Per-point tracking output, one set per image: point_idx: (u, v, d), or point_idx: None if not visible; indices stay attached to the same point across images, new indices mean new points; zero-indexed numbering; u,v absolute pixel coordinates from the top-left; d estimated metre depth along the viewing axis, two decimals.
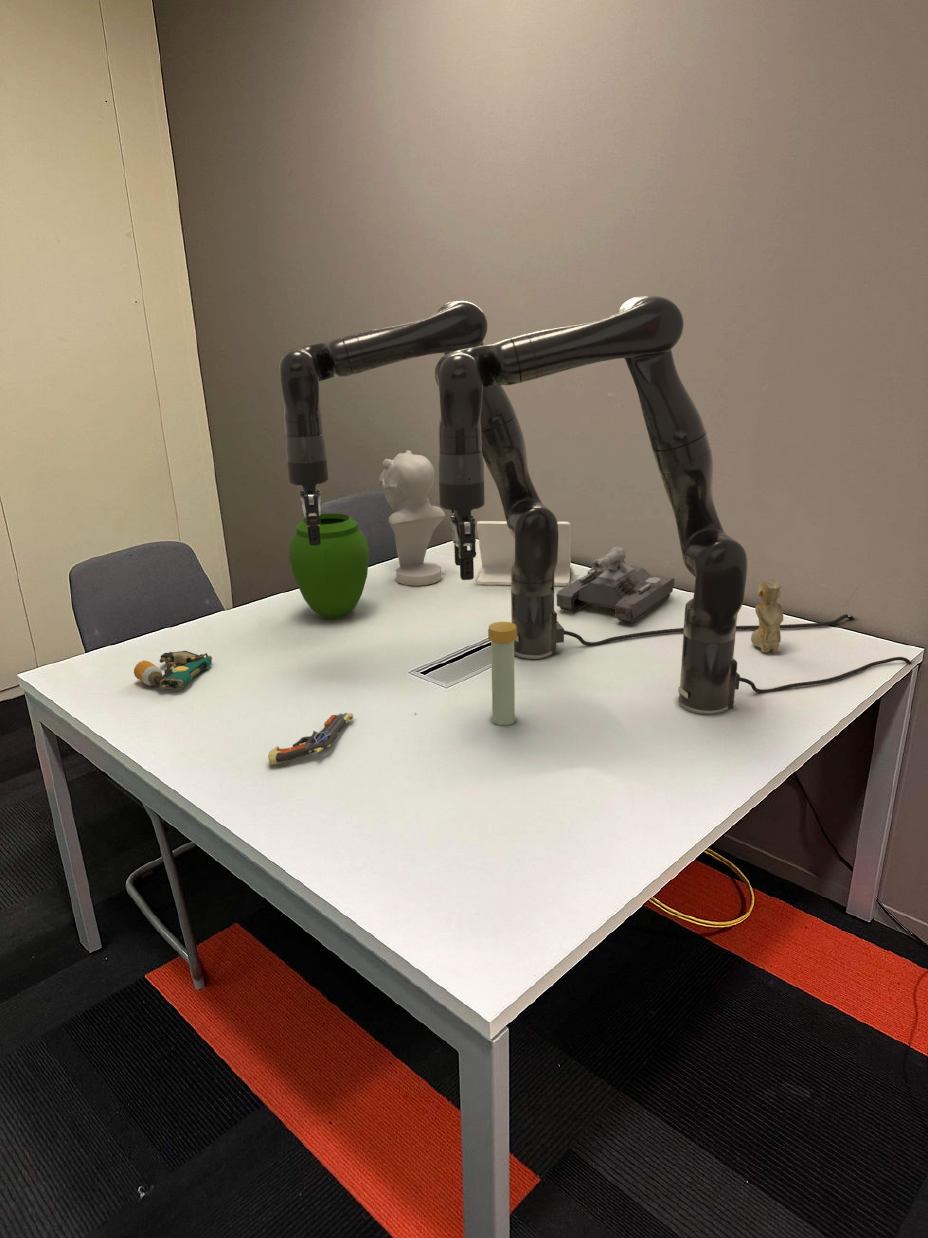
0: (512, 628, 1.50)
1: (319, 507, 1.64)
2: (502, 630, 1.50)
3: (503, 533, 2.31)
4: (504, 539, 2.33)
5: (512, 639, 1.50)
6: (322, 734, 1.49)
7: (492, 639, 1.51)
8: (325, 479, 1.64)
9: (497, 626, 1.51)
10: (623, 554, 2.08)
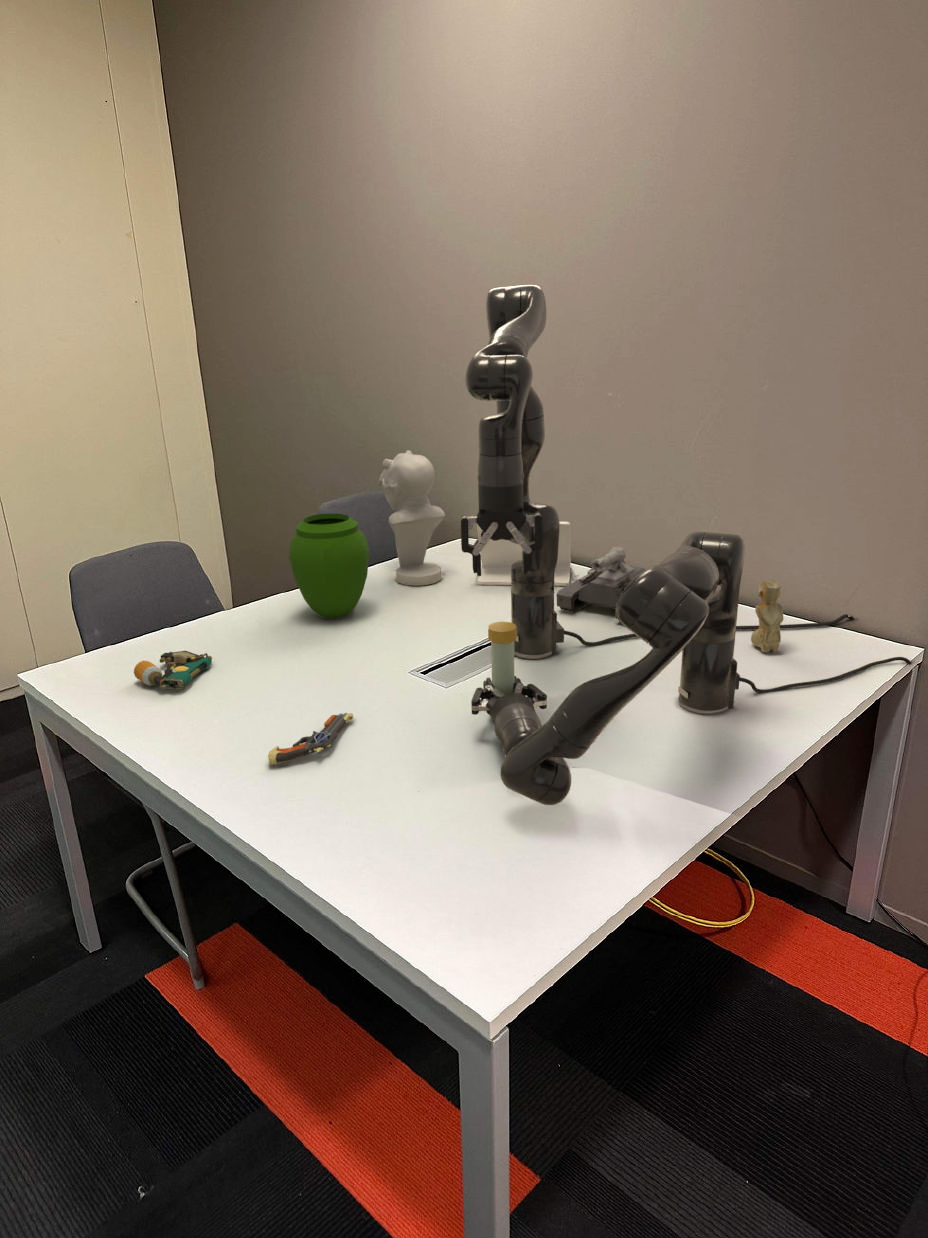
0: (512, 628, 1.50)
1: (519, 530, 1.47)
2: (502, 630, 1.50)
3: None
4: None
5: (512, 639, 1.50)
6: (322, 734, 1.49)
7: (492, 639, 1.51)
8: None
9: (497, 626, 1.51)
10: (623, 554, 2.08)
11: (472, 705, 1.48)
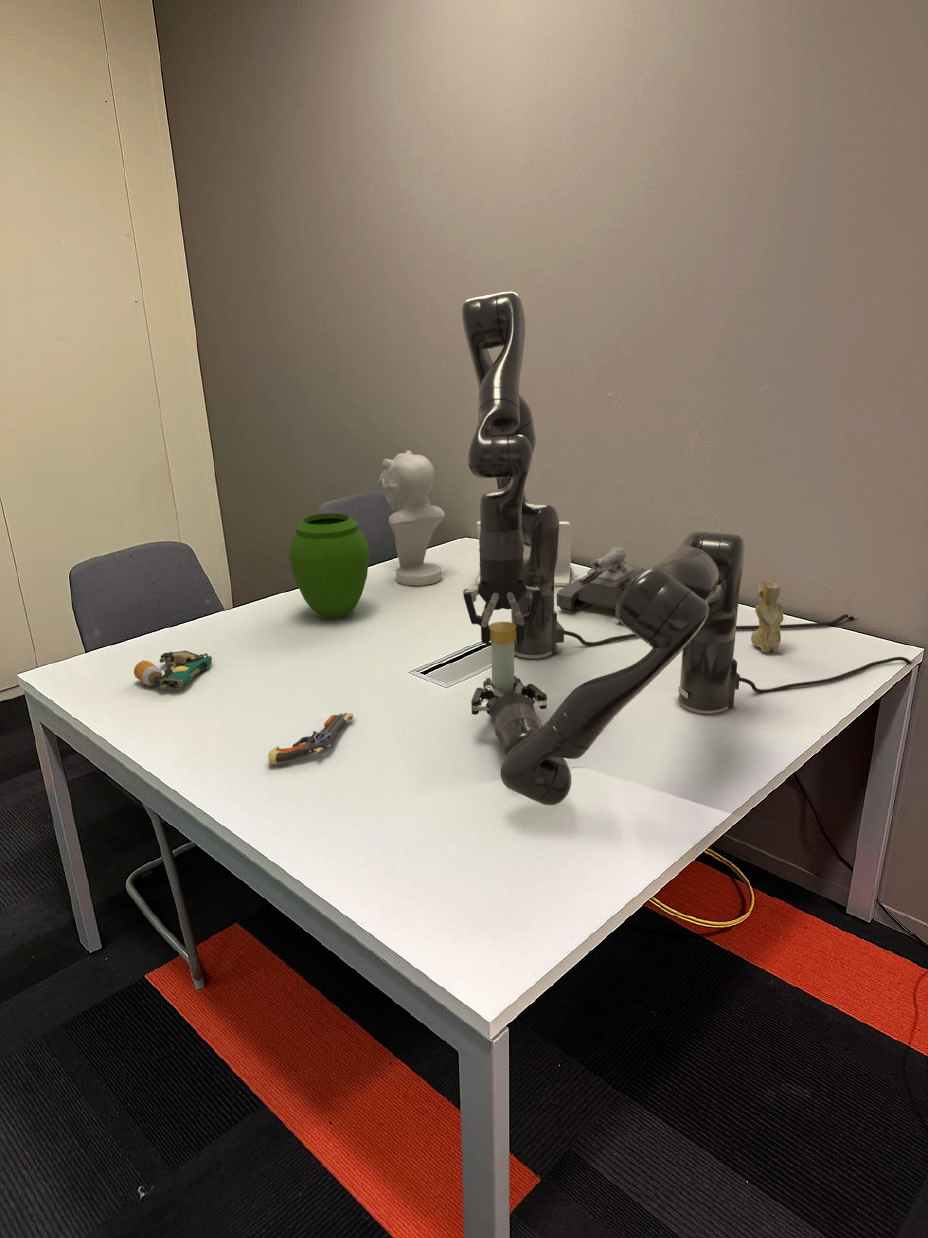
0: (512, 628, 1.50)
1: None
2: (502, 630, 1.50)
3: None
4: None
5: (512, 639, 1.50)
6: (322, 734, 1.49)
7: (492, 639, 1.51)
8: None
9: (497, 626, 1.51)
10: (623, 554, 2.08)
11: (472, 705, 1.48)
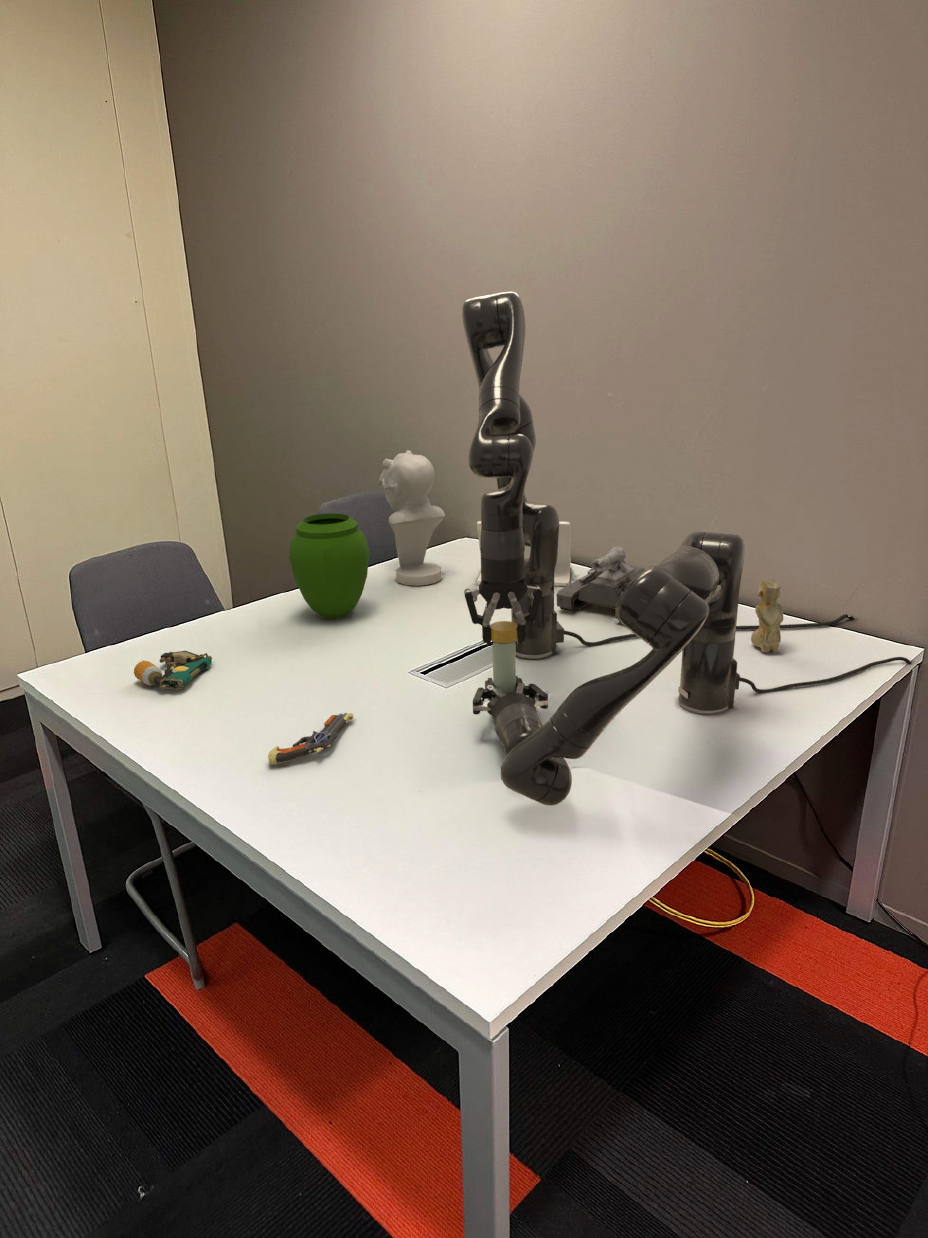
0: (512, 623, 1.53)
1: None
2: (513, 627, 1.51)
3: None
4: None
5: None
6: (322, 734, 1.49)
7: (509, 639, 1.50)
8: None
9: (501, 627, 1.51)
10: (623, 554, 2.08)
11: (473, 705, 1.48)
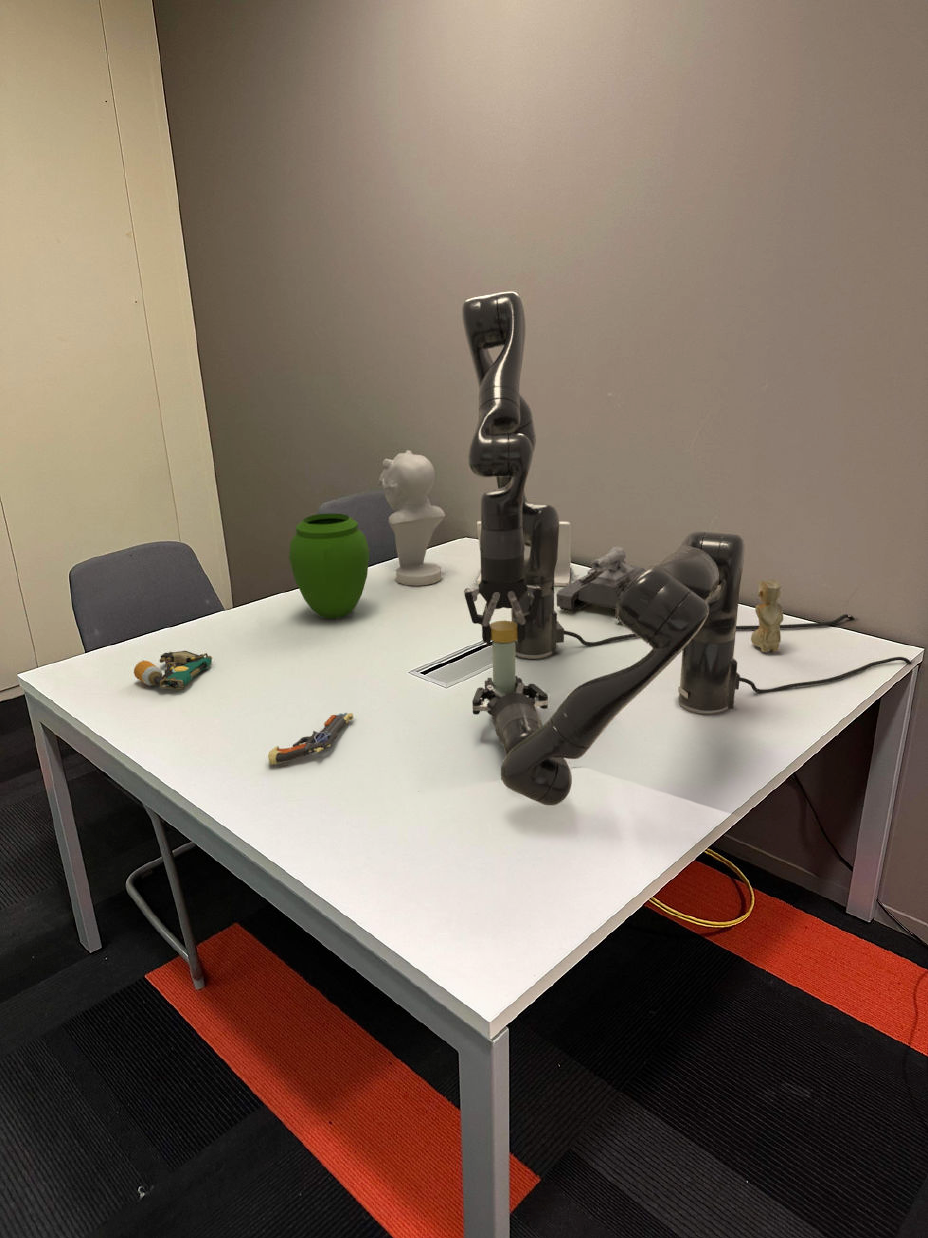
0: (499, 621, 1.53)
1: None
2: (510, 622, 1.53)
3: None
4: None
5: None
6: (322, 734, 1.49)
7: None
8: None
9: (507, 626, 1.51)
10: (623, 554, 2.08)
11: (473, 705, 1.48)
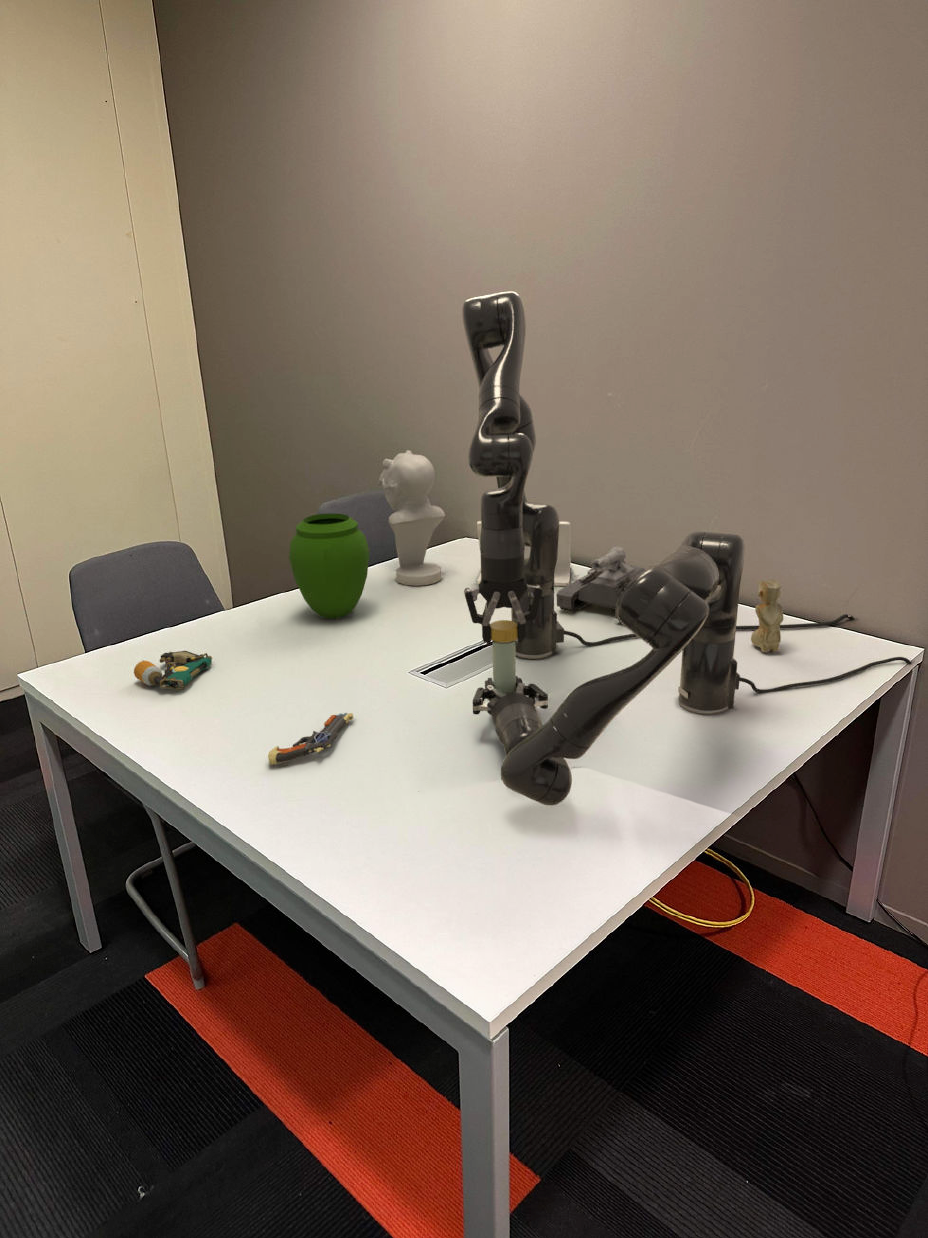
0: (492, 625, 1.51)
1: None
2: (498, 621, 1.53)
3: None
4: None
5: None
6: (322, 734, 1.49)
7: None
8: None
9: (508, 624, 1.52)
10: (623, 554, 2.08)
11: (473, 705, 1.48)
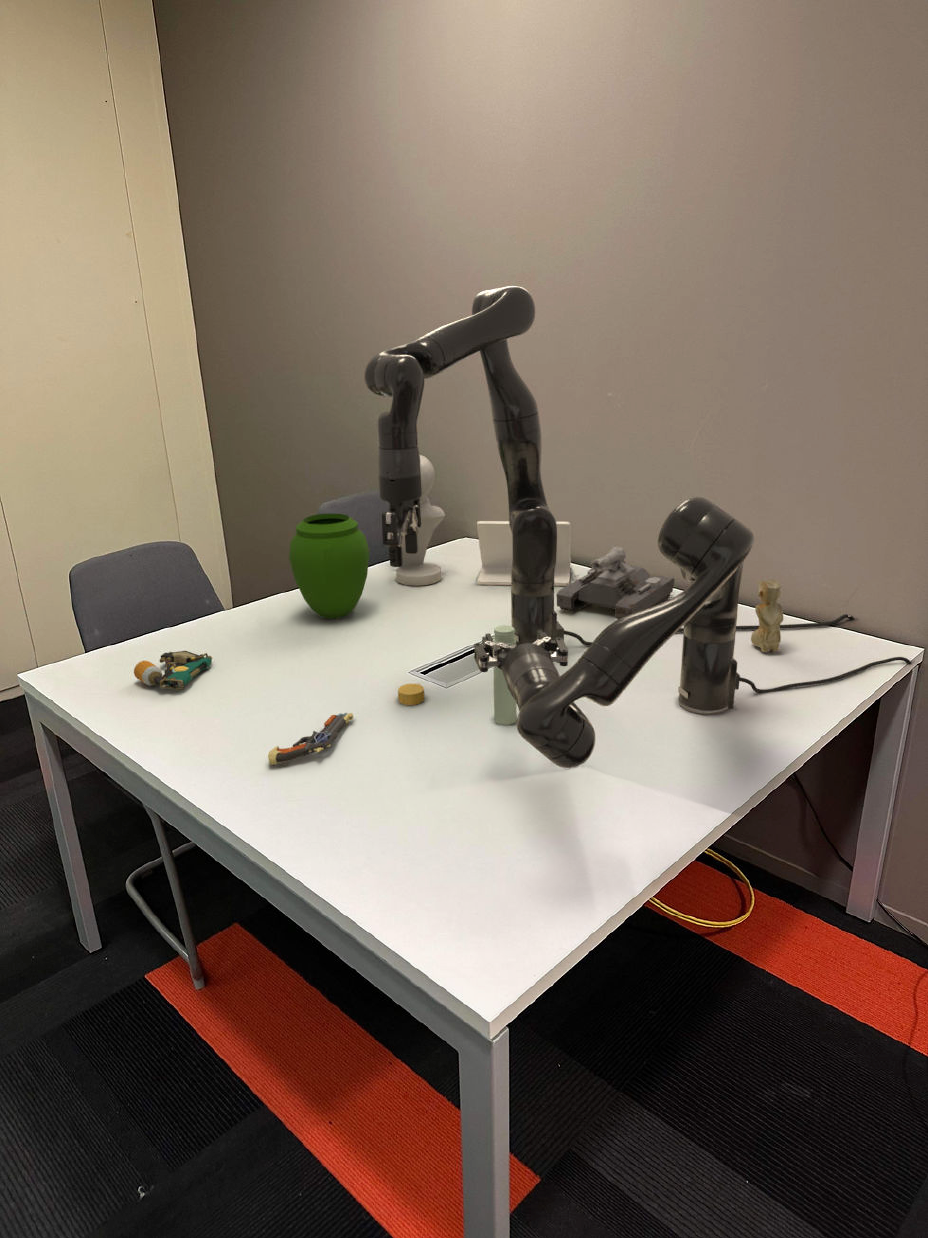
0: (418, 691, 1.65)
1: None
2: (408, 693, 1.65)
3: (503, 533, 2.31)
4: (504, 539, 2.33)
5: (417, 701, 1.65)
6: (322, 734, 1.49)
7: (400, 700, 1.66)
8: None
9: (406, 688, 1.67)
10: (623, 554, 2.08)
11: (482, 662, 1.30)
